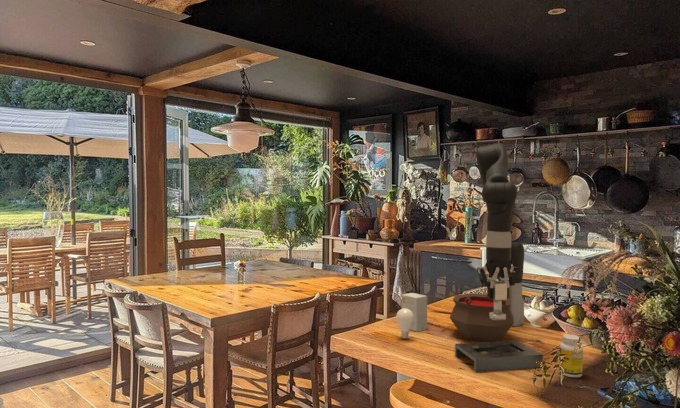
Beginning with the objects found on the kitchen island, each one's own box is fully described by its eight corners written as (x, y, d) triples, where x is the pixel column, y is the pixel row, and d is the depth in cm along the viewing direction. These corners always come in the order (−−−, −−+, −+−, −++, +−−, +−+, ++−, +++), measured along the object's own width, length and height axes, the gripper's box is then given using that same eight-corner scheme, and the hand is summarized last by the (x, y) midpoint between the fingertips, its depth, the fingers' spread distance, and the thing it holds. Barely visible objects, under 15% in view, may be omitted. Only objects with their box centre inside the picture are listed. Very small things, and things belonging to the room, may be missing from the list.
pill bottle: (554, 370, 140) (555, 333, 139) (574, 369, 140) (575, 333, 140) (566, 378, 133) (567, 340, 133) (587, 377, 134) (587, 339, 134)
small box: (427, 329, 181) (427, 295, 181) (416, 332, 177) (416, 298, 176) (411, 324, 187) (412, 292, 187) (400, 327, 183) (401, 294, 183)
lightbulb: (415, 337, 170) (416, 307, 170) (410, 342, 164) (411, 311, 164) (399, 335, 173) (399, 305, 173) (393, 339, 167) (393, 309, 167)
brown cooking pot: (498, 351, 155) (499, 303, 155) (435, 336, 172) (436, 292, 171) (526, 336, 173) (527, 292, 173) (466, 323, 189) (467, 283, 189)
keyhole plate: (516, 352, 155) (516, 339, 155) (542, 367, 142) (542, 353, 142) (454, 356, 151) (455, 343, 151) (475, 372, 137) (475, 358, 137)
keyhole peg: (500, 316, 151) (501, 280, 151) (508, 320, 146) (509, 283, 146) (486, 316, 150) (486, 281, 150) (494, 320, 146) (494, 284, 145)
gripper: (512, 243, 153) (511, 296, 153) (472, 244, 150) (471, 297, 151) (525, 246, 145) (524, 301, 146) (483, 247, 143) (482, 302, 143)
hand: (497, 298), depth 148 cm, fingers closed on keyhole peg, 4 cm apart
